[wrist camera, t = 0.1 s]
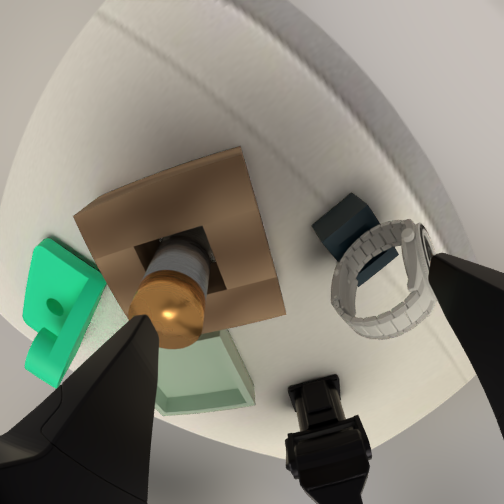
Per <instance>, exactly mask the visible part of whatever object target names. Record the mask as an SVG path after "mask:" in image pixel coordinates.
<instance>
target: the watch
mask: <svg viewBox="0 0 504 504" xmlns="http://www.w3.org/2000/svg"><path fill="white" fill-rule="evenodd" d="M312 228H313V229H314V231H315V232H316V234H317V235H318V237H319V239H320V240H321V242H322V243H323V244H324V246H325V247H326V248H327V249H328V250H329V252H330V253H331V254H332V255H333V256H334V258H335V259H336V260H337V261H338V262H339V263H338V262H337V264H336V267H335V270H334V274H333V279H332V285H331V304H332V305H333V307H334V308H335V310H336V311H337V313H338V314H339V315H340V316H341V317H342V318H343V320H344V321H345V322H346V323H347V324H348V325H349V326H350V327H351V328H352V329H353V330H354V331H355V332H356V333H357V334H359V335H361V336H363V337H366V338H369V339H378V340H383V339H390V337H391V338H394V337H397V336H400V335H402V334H404V332H405V333H406V332H408V331H410V330H411V329H413V328H414V327H416V326H417V324H419V323H421V322H422V321H423V320H424V319H425V318H426V317H428V316H430V314H431V313H432V311H433V308H434V306H435V303H436V301H438V300H437V298H436V296H435V294H434V292H433V290H432V288H431V286H430V284H429V281H428V275H429V268H430V261H431V257H432V256H433V255H435V254H436V252H435V249H434V247H433V244H432V241H431V239H430V237H429V234H428V232H427V230H426V229H425V227H424V226H423V225H422V224H421V223H418V224H416V225H415V224H414V223H413V221H412V220H411V219H407V220H394V221H392V222H391V221H389V222H385V223H383V224H380V223H379V221H378V220H377V218H376V217H375V215H374V213H373V212H372V210H371V209H370V207H369V206H368V205H367V204H366V203H365V202H364V201H362V200H361V199H360V198H358V197H357V196H356V195H355V194H353V193H351V194H349V195H348V196H347V197H346V198H345V199H343V200H342V201H341V202H340V203H339V204H337V205H336V206H335V207H334V208H332V209H331V210H330V211H329V212H328V213H326V214H325V215H324V216H323V217H322V218H320V219H319V220H318V221H317V222H315V223H314V224H313V225H312ZM395 246H401V247H402V255H403V261H404V265H405V269H406V273H407V276H408V284H407V286H408V290H409V292H411V293H410V295H409V296H408V297H407V298H406V299H405V300H404V302H405V303H404V302H401V303H400V304H398V305H397V306H396V307H394V308H393V309H392V310H391V312H390V311H387V312H385V313H383V314H380V315H378V316H377V317H376V316H373V317H367V318H364V319H363V318H356V317H355V314H356V310H355V296H356V289H357V286H358V287H359V286H361V285H362V284H363V283H364V282H366V281H367V280H368V279H369V278H371V277H372V276H373V275H375V274H376V273H377V272H378V271H380V270H381V269H382V268H383V267H384V266H386V265H387V264H388V263H389V262H391V261H392V260H393V259H394V258H395V257H397V256H398V255H399V254H398V252H397V250H396V249H395ZM405 313H406V314H405ZM407 316H408V317H407ZM416 322H417V323H416Z"/></svg>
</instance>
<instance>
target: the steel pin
mask: <svg viewBox="0 0 504 504" xmlns="http://www.w3.org/2000/svg"><path fill="white" fill-rule="evenodd" d="M212 253H213V252H212V249H211V247H210V244H209V241H208V239H207V236H206V233H205V230H204V228H203V225H202V226H198V227H195V228H192V229H188V230H185V231H182V232H178V233H175V234H172V235H169V236H165V237H163V239H162V241H161V243H160V245H159V247H158V249H157V251H156V253H155V255H154V257H153V259H152V261H151V263H150V265H149V267H148V269H147V271H146V273H145V275H144V277H143V279H142V281H141V283H140V285H139V287H138V289H137V292H136V294H135V296H134V298H133V300H132V303H131V305H130V307H129V311H128V318H129V320H130V319H132V318H133V317H134V316H136V315H143V314H146V315H148V316H149V318H150V319H151V321H152V323H153V325H154V327H155V329H156V331H157V333H158V336H159V347H160V348H164V349H181V348H185V347H188V346H190V345H192V344H193V343H195V342H196V341H197V340H198V339H199V337H200V335H201V333H202V329H203V321H204V313H205V305H206V297H207V289H208V281H209V274H210V267H211V260H212Z"/></svg>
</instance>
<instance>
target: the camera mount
mask: <svg viewBox="0 0 504 504" xmlns="http://www.w3.org/2000/svg"><path fill="white" fill-rule="evenodd" d="M106 284H107V283H106V281H105V279H104V277H103V275H102V274H101V273H100V272H99V271H97V270H96V269H94V268H92V267H91V266H89V265H88V264H86V263H85V262H83V261H82V260H80V259H79V258H77V257H76V256H75V255H73V254H72V253H70V252H69V251H67V250H66V249H64V248H63V247H62V246H60V245H59V244H57V243H56V242H55V241H53V240H52V239H49V238H46V239H44V240H43V241H42V242H41V243H40V244H39V245H37V246H36V247H35V248H34V251H33V256H32V260H31V265H30V270H29V275H28V281H27V287H26V293H25V300H24V307H23V319H24V321H25V323H26V324H27V325H28V326H30V327H31V328H32V329H34V330H35V331H37V332H38V334H37V336H36V337H35V339H34V341H33V343H32V345H31V347H30V349H29V352H28V355H27V358H26V361H25V369H26V370H28V371H29V372H31V373H32V374H34V375H35V376H37V377H38V378H40V379H41V380H43V381H45V382H46V383H48V384H49V385H51V386H52V387H54V388H56V389H57V388H58V386H59V385H60V383H61V381H62V379H63V377H64V375H65V373H66V371H67V370H68V368H69V366H70V364H71V363H72V361H73V359H74V357H75V355H76V353H77V351H78V349H79V347H80V344H81V342H82V339H83V337H84V334H85V332H86V330H87V328H88V326H89V324H90V321H91V319H92V317H93V314H94V312H95V310H96V307H97V305H98V303H99V301H100V299H101V298H100V297H101V295H102V293H103V290H104V288H105V286H106Z"/></svg>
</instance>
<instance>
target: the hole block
mask: <svg viewBox="0 0 504 504" xmlns="http://www.w3.org/2000/svg"><path fill="white" fill-rule="evenodd" d="M73 217H74V219H75V222H76V224H77V226H78V228H79V230H80V232H81V234H82V237H83V239H84V241H85V243H86V245H87V247H88V249H89V251H90V253H91V255H92V257H93V259H94V261H95V262H96V264H97V266H98V268H99V270H100V272H101V274H102V275H103V277H104V279H105V281H106V283H107V284H108V286H109V288H110V290H111V291H112V293H113V295H114V297H115V298H116V300H117V302H118V303H119V305H120V307H121V308H122V310H123V311H124V313H125V315H126V316H127V318H128V311H129V307H130V305H131V303H132V300H133V298H134V296H135V294H136V292H137V289H138V287H139V285H140V283H141V281H142V279H143V277H144V275H145V273H146V271H147V269H148V267H149V265H150V263H151V261H152V259H153V257H154V255H155V253H156V251H157V249H158V247H159V245H160V243H159V240H158V239H159V238H162V237H165V236H169V235H172V234H175V233H178V232H182V231H185V230H188V229H192V228H195V227H198V226H202V225H203V228H204V230H205V233H206V236H207V239H208V241H209V244H210V247H211V249H212V252H213V254H214V257H215V260H216V262H213V263H211V267H210V274H209V281H208V289H207V297H206V305H205V313H204V321H203V329H202V333H201V334H205V333H209V332H214V331H219V330H224V329H228V328H233V327H237V326H241V325H246V324H250V323H254V322H258V321H262V320H267V319H271V318H275V317H278V316H282V315H286V311H285V307H284V302H283V298H282V294H281V290H280V286H279V282H278V278H277V274H276V270H275V267H274V263H273V259H272V256H271V252H270V249H269V245H268V241H267V238H266V234H265V230H264V227H263V223H262V220H261V216H260V213H259V209H258V205H257V202H256V198H255V195H254V191H253V188H252V184H251V181H250V177H249V174H248V171H247V167H246V164H245V160H244V157H243V153H242V150H241V146H239V147H236V148H232V149H229V150H225V151H222V152H219V153H215V154H212V155H209V156H206V157H203V158H199V159H196V160H193V161H190V162H187V163H184V164H181V165H179V166H176V167H173V168H170V169H167V170H164V171H162V172H159V173H156V174H154V175H151V176H148V177H146V178H143V179H140V180H138V181H135V182H133V183H130V184H128V185H125V186H123V187H120V188H118V189H116V190H113V191H111V192H109V193H106V194H104V195H102V196H99V197H98V198H97V199H95V200H94V201H93V202H91V203H90V204H88V205H87V206H86V207H85V208H83V209H82V210H81V211H79V212H78V213H77V214H75V215H74V216H73ZM128 319H129V318H128Z"/></svg>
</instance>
